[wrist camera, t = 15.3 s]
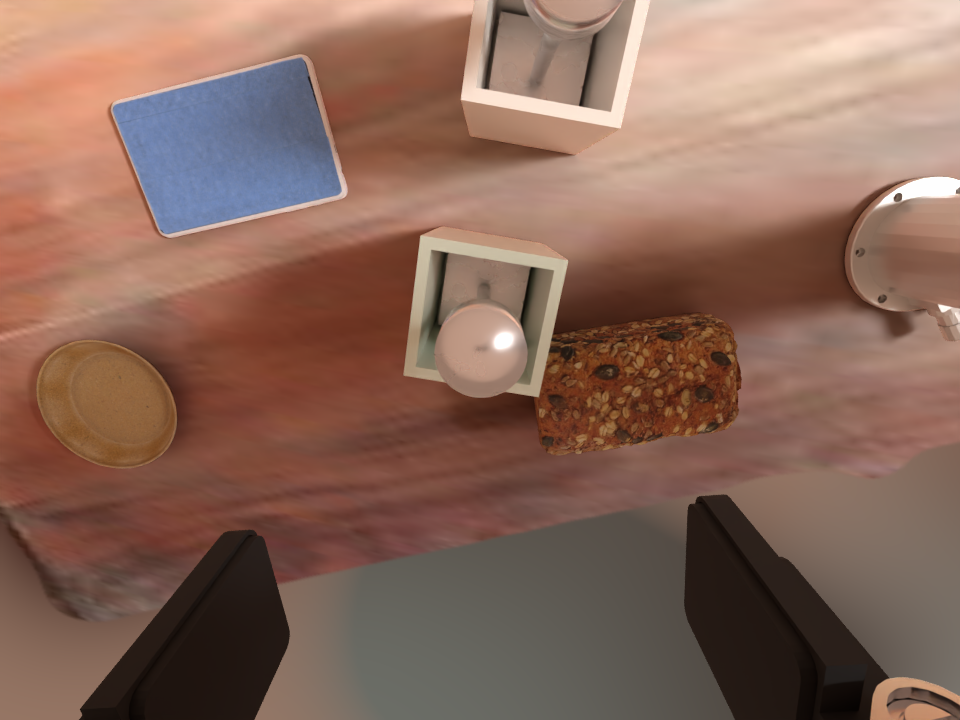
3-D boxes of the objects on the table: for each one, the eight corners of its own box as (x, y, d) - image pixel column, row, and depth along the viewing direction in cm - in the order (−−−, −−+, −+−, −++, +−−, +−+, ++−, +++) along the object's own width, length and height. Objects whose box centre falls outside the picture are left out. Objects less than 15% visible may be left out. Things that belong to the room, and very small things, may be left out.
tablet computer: (312, 53, 43) (306, 49, 42) (351, 198, 47) (348, 197, 46) (114, 104, 45) (104, 101, 44) (168, 240, 49) (159, 241, 47)
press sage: (542, 243, 48) (568, 260, 32) (523, 339, 51) (538, 397, 35) (442, 226, 47) (420, 235, 32) (429, 324, 50) (403, 375, 35)
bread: (533, 422, 54) (543, 468, 44) (522, 330, 50) (530, 359, 41) (704, 400, 52) (752, 443, 43) (703, 304, 49) (754, 328, 40)
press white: (601, 32, 42) (665, -67, 27) (575, 154, 45) (620, 128, 30) (488, 11, 42) (488, -102, 26) (469, 136, 45) (460, 99, 29)
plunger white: (592, 31, 39) (699, -147, 19) (572, 133, 41) (648, 66, 22) (500, 14, 39) (513, -184, 19) (484, 117, 41) (481, 35, 21)
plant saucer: (33, 344, 52) (10, 351, 49) (163, 324, 51) (146, 330, 48) (88, 464, 56) (69, 476, 54) (208, 448, 55) (195, 459, 53)
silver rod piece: (531, 257, 44) (565, 296, 25) (516, 335, 47) (536, 429, 27) (450, 243, 44) (419, 272, 25) (438, 322, 46) (402, 407, 27)
